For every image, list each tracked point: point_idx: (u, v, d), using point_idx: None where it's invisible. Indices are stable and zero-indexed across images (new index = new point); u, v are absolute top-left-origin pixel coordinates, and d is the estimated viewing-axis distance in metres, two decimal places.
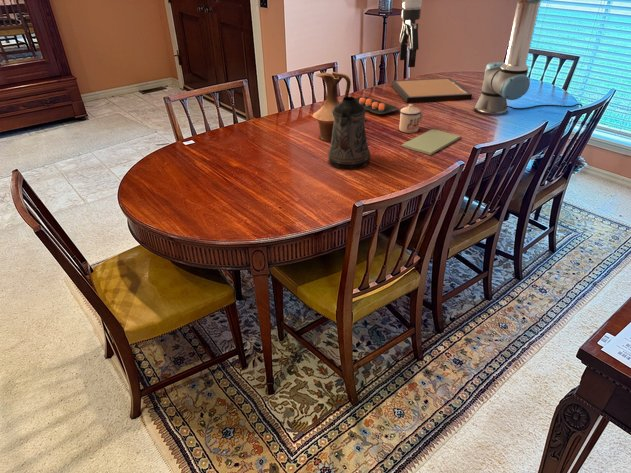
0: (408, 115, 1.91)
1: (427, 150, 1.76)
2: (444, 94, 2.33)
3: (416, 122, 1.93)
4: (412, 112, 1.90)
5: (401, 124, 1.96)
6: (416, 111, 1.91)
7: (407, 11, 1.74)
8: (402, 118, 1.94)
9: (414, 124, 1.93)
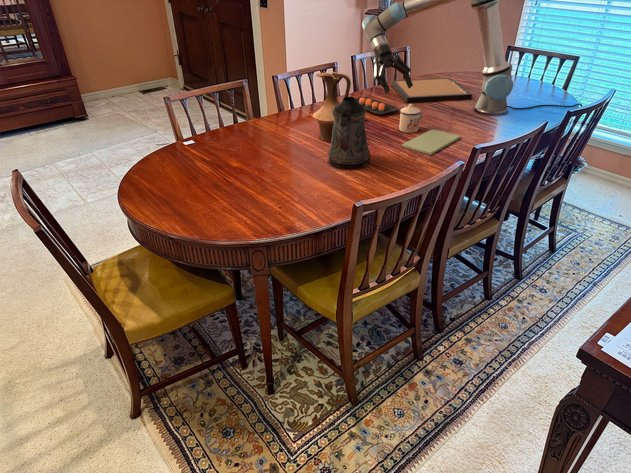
0: (408, 115, 1.91)
1: (427, 150, 1.76)
2: (444, 94, 2.33)
3: (416, 122, 1.93)
4: (412, 112, 1.90)
5: (401, 124, 1.96)
6: (416, 111, 1.91)
7: (374, 53, 2.01)
8: (402, 118, 1.94)
9: (414, 124, 1.93)
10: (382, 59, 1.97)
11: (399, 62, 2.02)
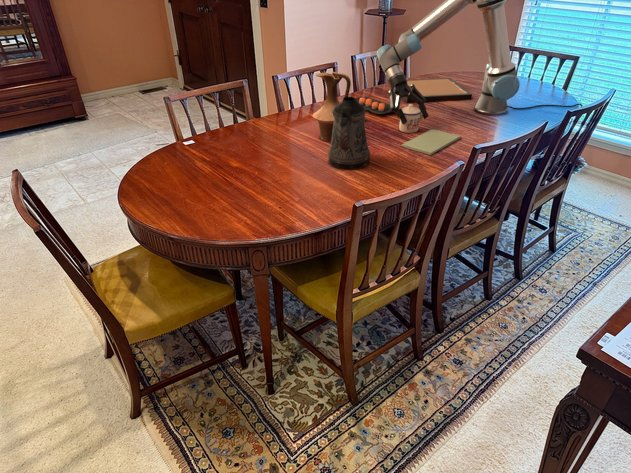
0: (408, 115, 1.91)
1: (427, 150, 1.76)
2: (444, 94, 2.33)
3: (416, 122, 1.93)
4: (412, 112, 1.90)
5: (401, 124, 1.96)
6: (416, 111, 1.91)
7: (389, 83, 1.98)
8: None
9: (414, 124, 1.93)
10: (397, 89, 1.94)
11: (414, 92, 1.99)
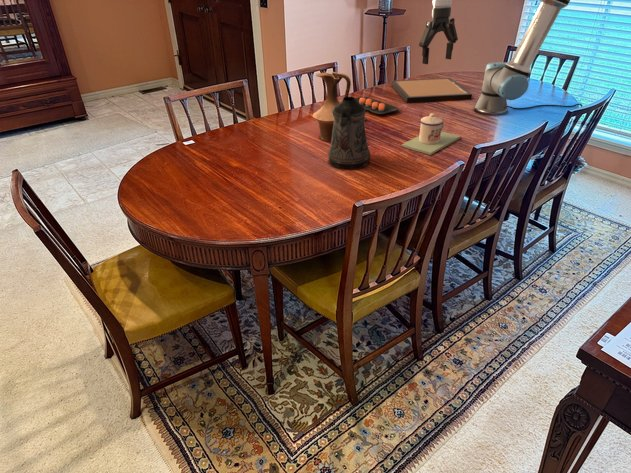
0: (429, 125, 1.77)
1: (427, 150, 1.76)
2: (444, 94, 2.33)
3: (438, 133, 1.79)
4: (434, 122, 1.76)
5: (421, 135, 1.81)
6: (438, 121, 1.77)
7: (432, 9, 1.79)
8: (423, 128, 1.79)
9: (436, 134, 1.79)
10: (436, 23, 1.79)
11: (451, 27, 1.85)
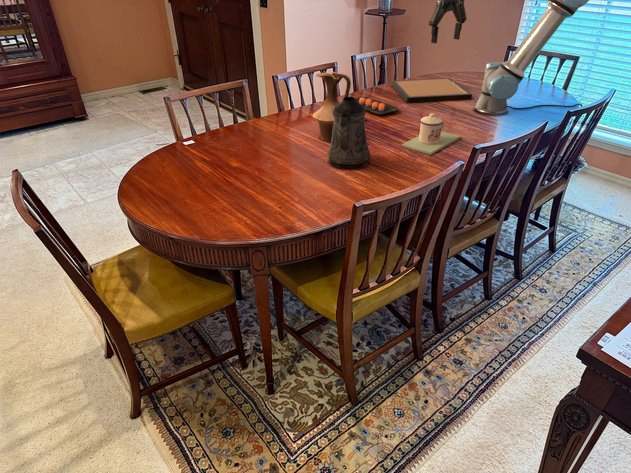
0: (429, 125, 1.77)
1: (427, 150, 1.76)
2: (444, 94, 2.33)
3: (438, 133, 1.79)
4: (434, 122, 1.76)
5: (421, 135, 1.81)
6: (438, 121, 1.77)
7: None
8: (423, 128, 1.79)
9: (436, 134, 1.79)
10: (446, 2, 1.81)
11: (460, 7, 1.87)
